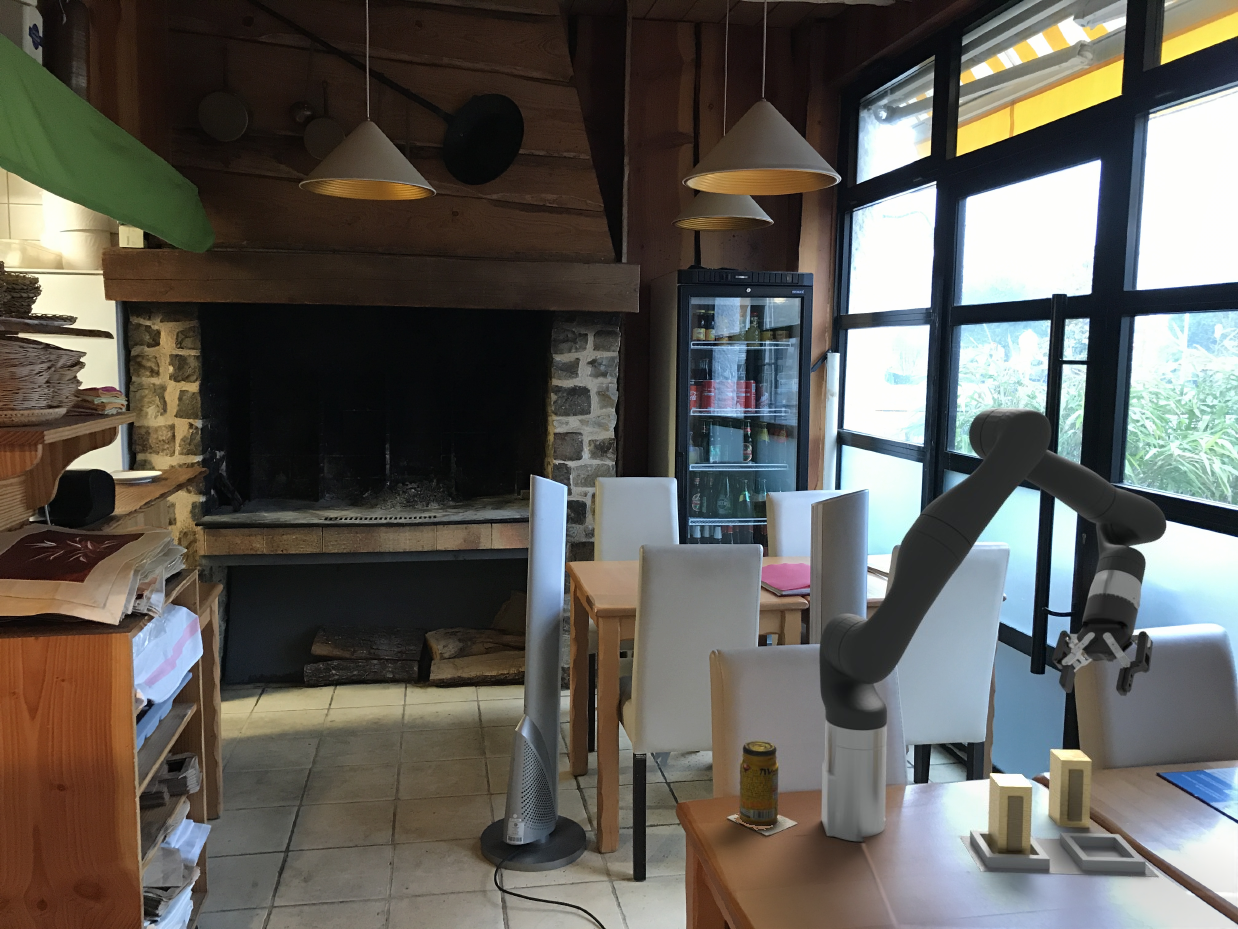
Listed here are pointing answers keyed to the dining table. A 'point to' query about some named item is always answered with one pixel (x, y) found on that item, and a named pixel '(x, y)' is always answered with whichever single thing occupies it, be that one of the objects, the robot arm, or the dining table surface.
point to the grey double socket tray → (1062, 856)
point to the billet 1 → (1009, 814)
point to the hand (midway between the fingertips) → (1092, 691)
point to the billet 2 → (1069, 788)
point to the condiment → (760, 788)
